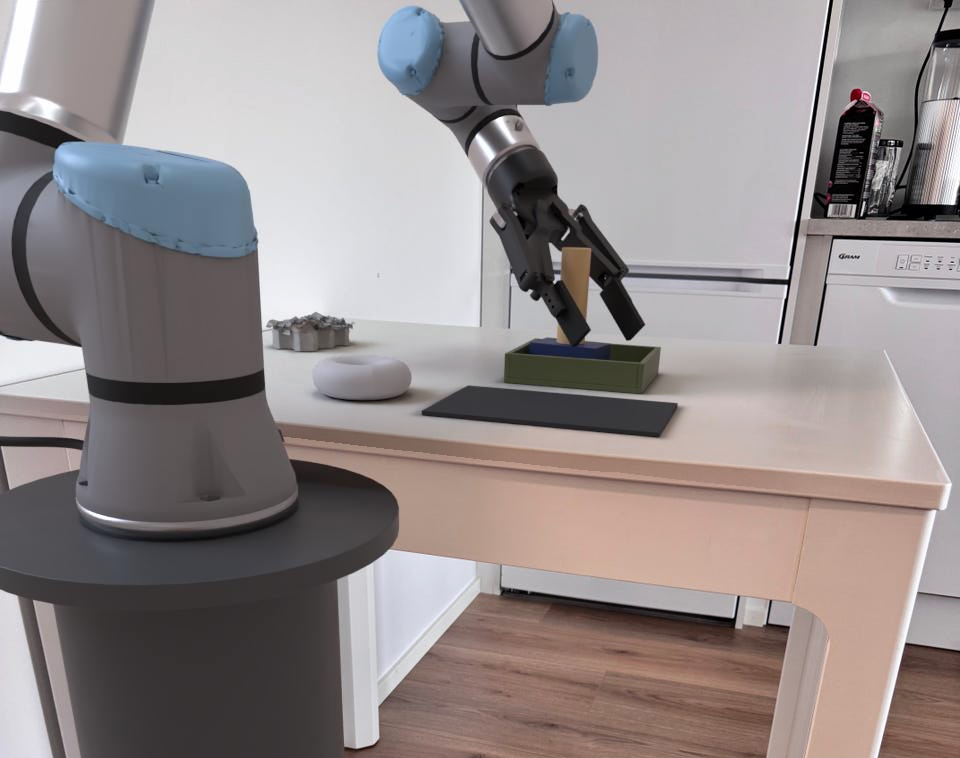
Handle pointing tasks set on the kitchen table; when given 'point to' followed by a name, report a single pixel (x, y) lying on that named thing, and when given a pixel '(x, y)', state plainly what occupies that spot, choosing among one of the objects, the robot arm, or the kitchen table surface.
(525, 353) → the tray
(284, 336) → the egg carton
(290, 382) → the kitchen table surface
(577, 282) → the brush
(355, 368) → the donut
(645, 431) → the mat
